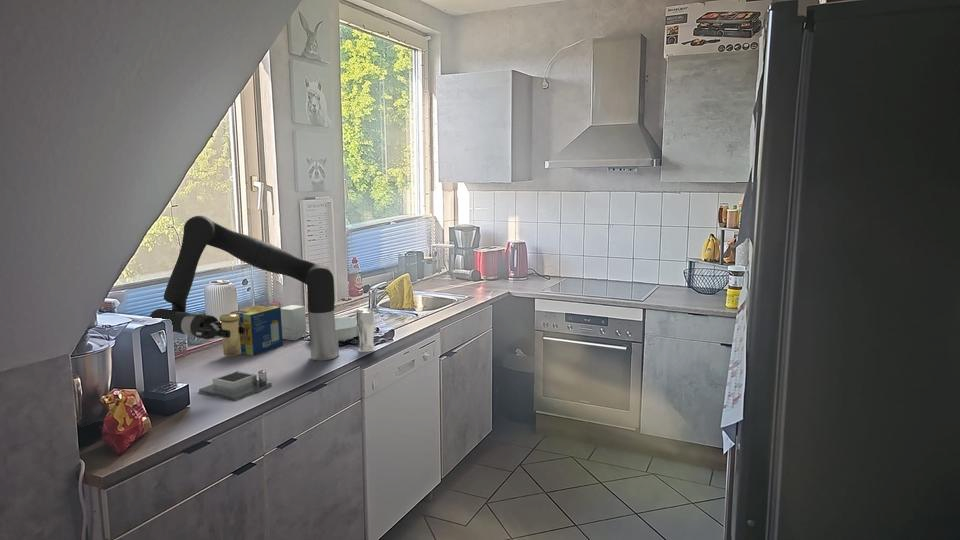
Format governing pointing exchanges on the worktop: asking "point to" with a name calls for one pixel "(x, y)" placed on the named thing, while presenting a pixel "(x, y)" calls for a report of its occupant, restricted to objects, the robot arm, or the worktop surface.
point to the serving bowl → (346, 328)
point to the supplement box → (293, 322)
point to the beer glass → (365, 329)
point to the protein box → (260, 329)
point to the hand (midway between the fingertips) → (236, 332)
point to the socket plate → (237, 385)
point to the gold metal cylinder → (231, 334)
